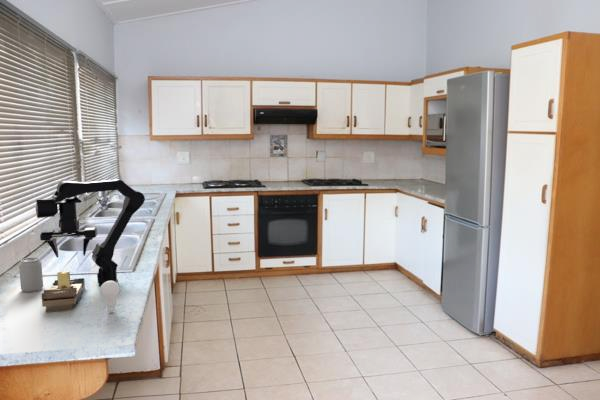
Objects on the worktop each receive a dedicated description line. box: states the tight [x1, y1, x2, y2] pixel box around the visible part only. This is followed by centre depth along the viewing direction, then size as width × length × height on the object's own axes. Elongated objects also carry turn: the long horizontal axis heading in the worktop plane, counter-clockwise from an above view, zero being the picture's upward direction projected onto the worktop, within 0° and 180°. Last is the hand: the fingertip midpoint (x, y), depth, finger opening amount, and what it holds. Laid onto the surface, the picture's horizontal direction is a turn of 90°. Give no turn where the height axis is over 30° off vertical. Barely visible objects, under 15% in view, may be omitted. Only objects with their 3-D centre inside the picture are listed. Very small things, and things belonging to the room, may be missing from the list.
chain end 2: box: [52, 277, 86, 305], centre depth 180 cm, size 10×16×4 cm, turn 15°
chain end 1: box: [40, 284, 82, 313], centre depth 174 cm, size 10×16×6 cm, turn 15°
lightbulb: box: [99, 281, 121, 314], centre depth 165 cm, size 6×6×11 cm
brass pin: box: [56, 270, 71, 289], centre depth 177 cm, size 4×4×10 cm
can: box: [18, 256, 44, 293], centre depth 187 cm, size 8×8×12 cm
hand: (71, 256), depth 186 cm, fingers open, 9 cm apart
